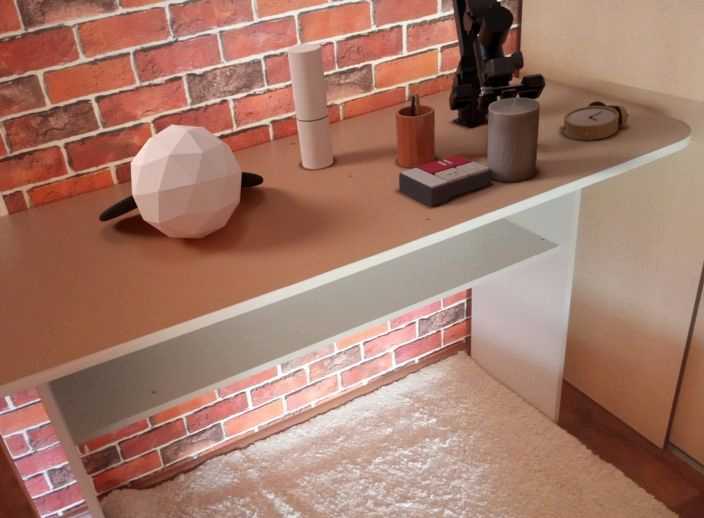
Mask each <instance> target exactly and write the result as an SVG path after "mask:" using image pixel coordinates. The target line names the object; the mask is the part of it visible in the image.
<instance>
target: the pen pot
mask: <svg viewBox="0 0 704 518" xmlns="http://www.w3.org/2000/svg"><path fill="white" fill-rule="evenodd" d="M420 111H421V115H420V116H417V110H416V104H415V109H414V116H410V112H411V105H407V106H402V107H400V108H399V109H397V110H395V128H396V130H395V131H396V149H397V162H398V164H399V165H400V167H404V168H408V169H409V168H410V169H414V168H419V166H421V165H424V164H428V163H431V162H434V161H436V120H435V108H434V107H433V106H431V105H428V104H420Z"/></svg>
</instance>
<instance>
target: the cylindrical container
mask: <svg viewBox="0 0 704 518" xmlns="http://www.w3.org/2000/svg"><path fill="white" fill-rule="evenodd" d="M286 51H287V60H288V68H289V74H290V81H291V91H292V97H293V102H294V103H293V104H294V112H295V120H296V126H297V127H296V128H297V134H298V141H299V150H300V156H301V157H300V158H301V165H302V167H303V168H304V169H307V170H320V169H324V168H328V167H329V166H331V165H332V164H333V163H334V153H333V146H332V145H333V144H332V135H331V125H330V117H329V116H330V115H329V108H328V97H327V89H326V79H325V71H324V69H325V68H324V60H323V50H322V45H321V44H319V43H303V44H297V45H293V46H291V47H288V48H287V50H286Z"/></svg>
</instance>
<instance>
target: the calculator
mask: <svg viewBox="0 0 704 518" xmlns="http://www.w3.org/2000/svg"><path fill="white" fill-rule="evenodd" d="M492 179H493V178H492V170H490V169H489V167H487V165H484V164H482V163H479V162H476V161H472V160H471V159H469V158H466V157H463V156H461V155H458V154H455V155H452V156H448V157H445V158H441V159H438V160H435V161H434V162H431V163H428V164H424V165H421V166H419V168H410V169H407V170H404V171H401V172H400V173H399V174H398V189H399V191H400V192H402V193H404V194H406V195H408V196H410V197H411V198H414V199H416V200H417V201H419V202H422V203H424V204H425V205H427V206H429V207H434V206H437V205H442V204H444V203H446V202H448V201H449V200H450V199H451V198H453V197H456V196H460V195H463V194H467V193H469V192H472V191H476V190H479V189H482V188H485V187H488V186H491V185H492Z"/></svg>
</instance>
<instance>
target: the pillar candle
mask: <svg viewBox="0 0 704 518" xmlns="http://www.w3.org/2000/svg"><path fill="white" fill-rule="evenodd" d="M488 109H489V112H488V113H489V114H488V115H487V118H488V122H487V125H488V126H487V158H486V159H487V164H486V166H487V167H489V169H490V170H492V179H493V180H495V181H498V182H504V183H512V182H520V181H524V180H527V179H530V178H533V177H534V176H535V175H536V173H537V170H536V168H537V167H536V166H537V160H538V140H539V129H540V112H541V111H540V109H541V104H540V102H539V101H537V99H529V98H519V97H516V98H508V99H502V100H500V99H499V100H497V101H496V102H493V103H491V104H490V105H489V107H488Z"/></svg>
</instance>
